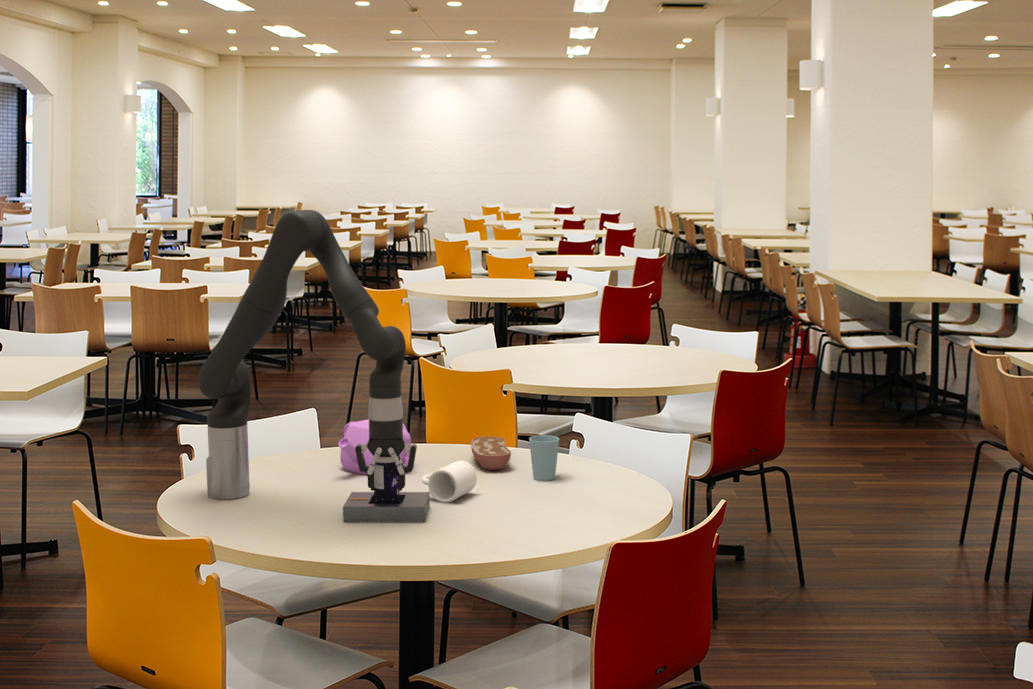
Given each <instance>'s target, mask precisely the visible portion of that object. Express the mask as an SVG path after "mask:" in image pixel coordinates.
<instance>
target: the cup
mask: <svg viewBox="0 0 1033 689" xmlns="http://www.w3.org/2000/svg"><path fill="white" fill-rule="evenodd" d="M528 439H529V448H530V449H529V450H530V459H531V468H532V470H531V471H532V477H533V480H535V481H539V482H548V481H554V480H555V479H556V472H557V464H558V454H559V445H560V438H559V436H555V435H545V434H542V435H534V436H530V437H529V438H528Z"/></svg>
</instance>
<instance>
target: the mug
mask: <svg viewBox="0 0 1033 689" xmlns="http://www.w3.org/2000/svg"><path fill="white" fill-rule="evenodd" d="M477 481H478V478H477V473H476V470H475V468H474V467H473V466H472V464H470V463H469V462H467V461H464V460H456V461H454V462H452V463H450V464H447V465H445V466H443V467H441V468H439V469H436V470H435V471H434V472H432V473H427V474H424V475H423V476H422V478H421V483H422V484H424V485H426V486H428V492H430V495H431V496H432V497H433V499H435V500H436V501H437V502H440V503H443V504H445V503H446V504H448V503H450V502H453V501H454V500H456V499H459V498H460V497H462V496H463V495H466V494H468V493H470V492H472V490H474V488H475V487H476V485H477Z"/></svg>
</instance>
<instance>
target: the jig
mask: <svg viewBox="0 0 1033 689" xmlns="http://www.w3.org/2000/svg"><path fill="white" fill-rule="evenodd" d="M399 494H400V503H399V504H374V491H351V492H350V494H349V496H348V498H347V499H346V501H345V503H344V504H343V506H342V519H343V520H342V522H343V523H426V521H427V520H426V519H427V516H428V513H429V510H430V505H431V504H430V500H431V499H430V495H431V493H430V491H399Z"/></svg>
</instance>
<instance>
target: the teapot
mask: <svg viewBox="0 0 1033 689" xmlns="http://www.w3.org/2000/svg"><path fill="white" fill-rule="evenodd" d="M411 439H412V438H411V434H410V433H409V431H408V429H407V428H406V425H405V424H404V423H403V440H404V442H405V444H410V445H413V443H412V440H411ZM368 441H369V418H368V419H364V420H359V421H350V422H348V423H347V424H345V426H344V427H343V437H342V438H341V439H340V440H339V441H338V444H337V445H338V447H339V449H340V454H339V455H340V456H339V458H340V463H341V465H342V467H343V469H344V470H345V471H347V472H350V473H354V474H359V475H365V476H368V475H367V473H365V472H361V471H360V470H359V466H358V461H357V456H356V451H355V447H356V446H357V444H361V445H362V444H367V443H368ZM373 457H374V456H373V455H372V454H371V452H370V451H369V450H368V448H367V449H366V452H365V454H364V458H365V463H366V466H370V464H371V461H372V459H373ZM400 457H401V459H402V462H403V464H404V467H405V466H408V461H409V454H407V450H406V449H403V451H402V452H401V453H400Z"/></svg>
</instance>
